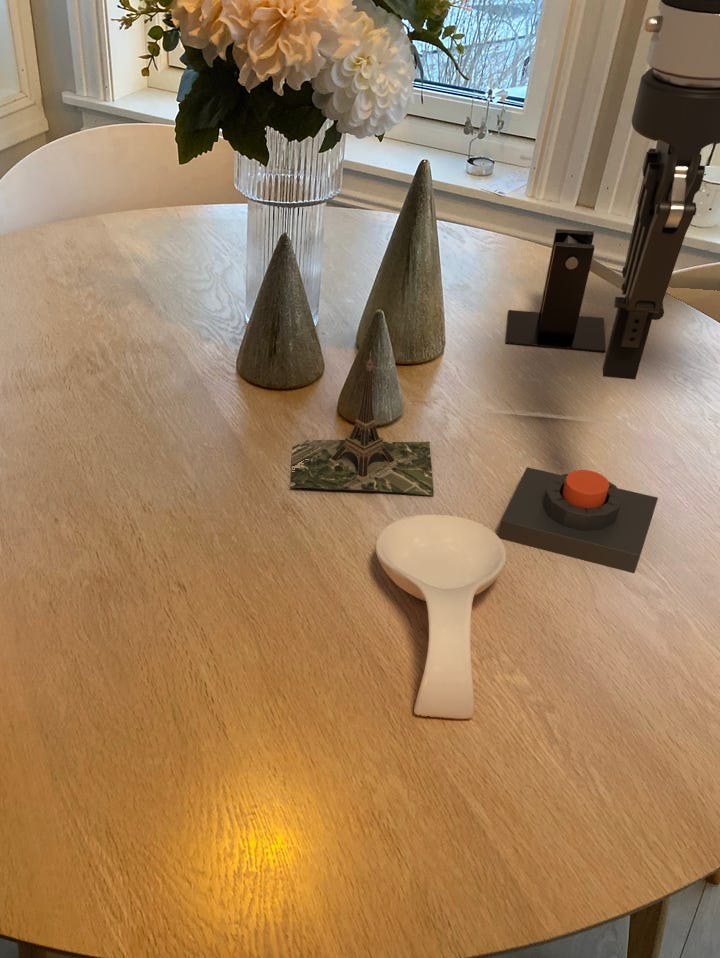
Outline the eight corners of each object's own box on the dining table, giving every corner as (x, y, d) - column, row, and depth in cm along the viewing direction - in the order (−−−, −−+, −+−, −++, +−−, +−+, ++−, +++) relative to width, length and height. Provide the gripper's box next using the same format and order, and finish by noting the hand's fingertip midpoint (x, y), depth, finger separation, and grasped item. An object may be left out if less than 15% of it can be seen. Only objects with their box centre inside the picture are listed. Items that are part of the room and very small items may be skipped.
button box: (652, 515, 99) (663, 481, 96) (634, 574, 92) (645, 540, 90) (523, 484, 103) (529, 451, 100) (497, 538, 97) (503, 505, 94)
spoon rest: (372, 538, 97) (377, 476, 92) (494, 543, 96) (506, 481, 91) (373, 718, 80) (379, 655, 75) (520, 726, 79) (537, 663, 74)
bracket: (601, 327, 128) (626, 227, 119) (603, 360, 122) (629, 257, 113) (506, 319, 130) (524, 220, 121) (503, 351, 124) (521, 249, 115)
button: (608, 490, 96) (613, 475, 95) (600, 513, 93) (604, 497, 92) (567, 480, 97) (571, 465, 96) (557, 502, 95) (561, 487, 93)
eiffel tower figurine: (287, 493, 103) (289, 376, 94) (292, 440, 110) (294, 327, 101) (433, 498, 102) (449, 381, 92) (429, 444, 109) (443, 330, 100)
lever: (652, 303, 123) (666, 287, 121) (655, 325, 119) (669, 308, 117) (555, 246, 121) (568, 228, 119) (555, 266, 117) (568, 248, 115)
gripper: (638, 46, 76) (573, 335, 92) (648, 97, 66) (575, 407, 83) (743, 50, 74) (658, 342, 91) (768, 101, 65) (669, 416, 81)
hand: (618, 373), depth 87 cm, fingers closed
